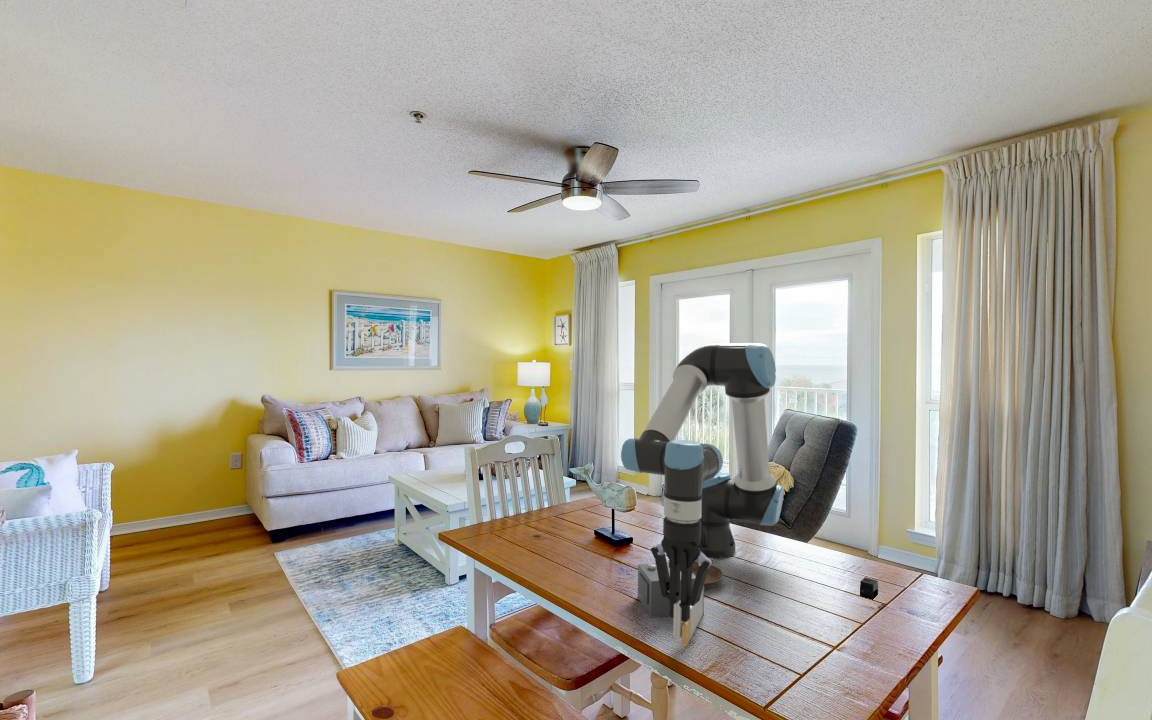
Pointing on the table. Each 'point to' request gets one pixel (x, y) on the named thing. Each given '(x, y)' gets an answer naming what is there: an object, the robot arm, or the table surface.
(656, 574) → the grey box with knob
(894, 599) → the table surface
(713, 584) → the saucer
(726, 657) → the table surface
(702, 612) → the light grey flat piece
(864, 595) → the black block
